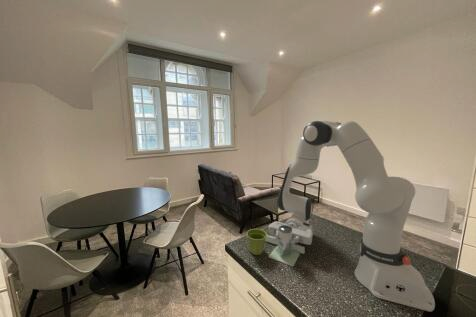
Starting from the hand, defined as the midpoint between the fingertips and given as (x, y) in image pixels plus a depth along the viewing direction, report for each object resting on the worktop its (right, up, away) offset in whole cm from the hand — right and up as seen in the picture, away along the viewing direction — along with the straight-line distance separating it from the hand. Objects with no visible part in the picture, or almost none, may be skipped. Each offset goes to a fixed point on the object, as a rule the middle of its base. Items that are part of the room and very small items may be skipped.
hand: (284, 239), depth 86 cm
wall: (+1, -7, +9) cm, 11 cm away
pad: (0, -8, +2) cm, 8 cm away
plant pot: (-12, -8, +5) cm, 15 cm away
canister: (0, -6, +2) cm, 6 cm away
